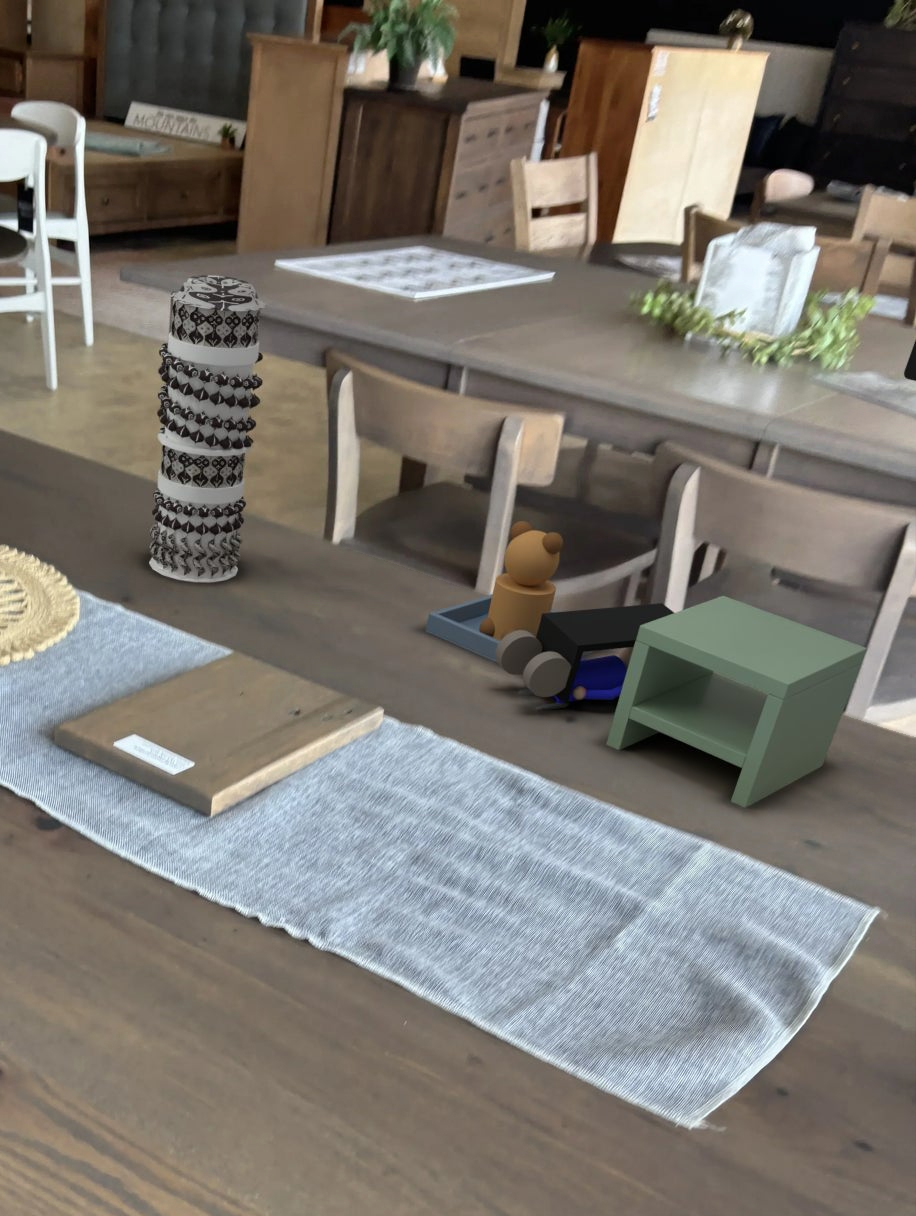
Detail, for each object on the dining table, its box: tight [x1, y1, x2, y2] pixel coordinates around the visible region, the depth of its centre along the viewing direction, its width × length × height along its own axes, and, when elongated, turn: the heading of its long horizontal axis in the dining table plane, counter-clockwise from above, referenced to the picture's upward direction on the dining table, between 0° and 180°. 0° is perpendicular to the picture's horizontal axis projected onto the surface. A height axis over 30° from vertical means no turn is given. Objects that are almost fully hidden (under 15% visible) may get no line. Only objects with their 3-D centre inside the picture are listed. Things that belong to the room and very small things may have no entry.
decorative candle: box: [148, 274, 267, 583], centre depth 126 cm, size 9×9×25 cm
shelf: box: [605, 595, 868, 809], centre depth 107 cm, size 12×12×10 cm
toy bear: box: [479, 520, 564, 641], centre depth 122 cm, size 6×5×10 cm
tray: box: [425, 593, 599, 664], centre depth 125 cm, size 11×11×2 cm
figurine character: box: [495, 602, 675, 711], centre depth 114 cm, size 7×8×15 cm
